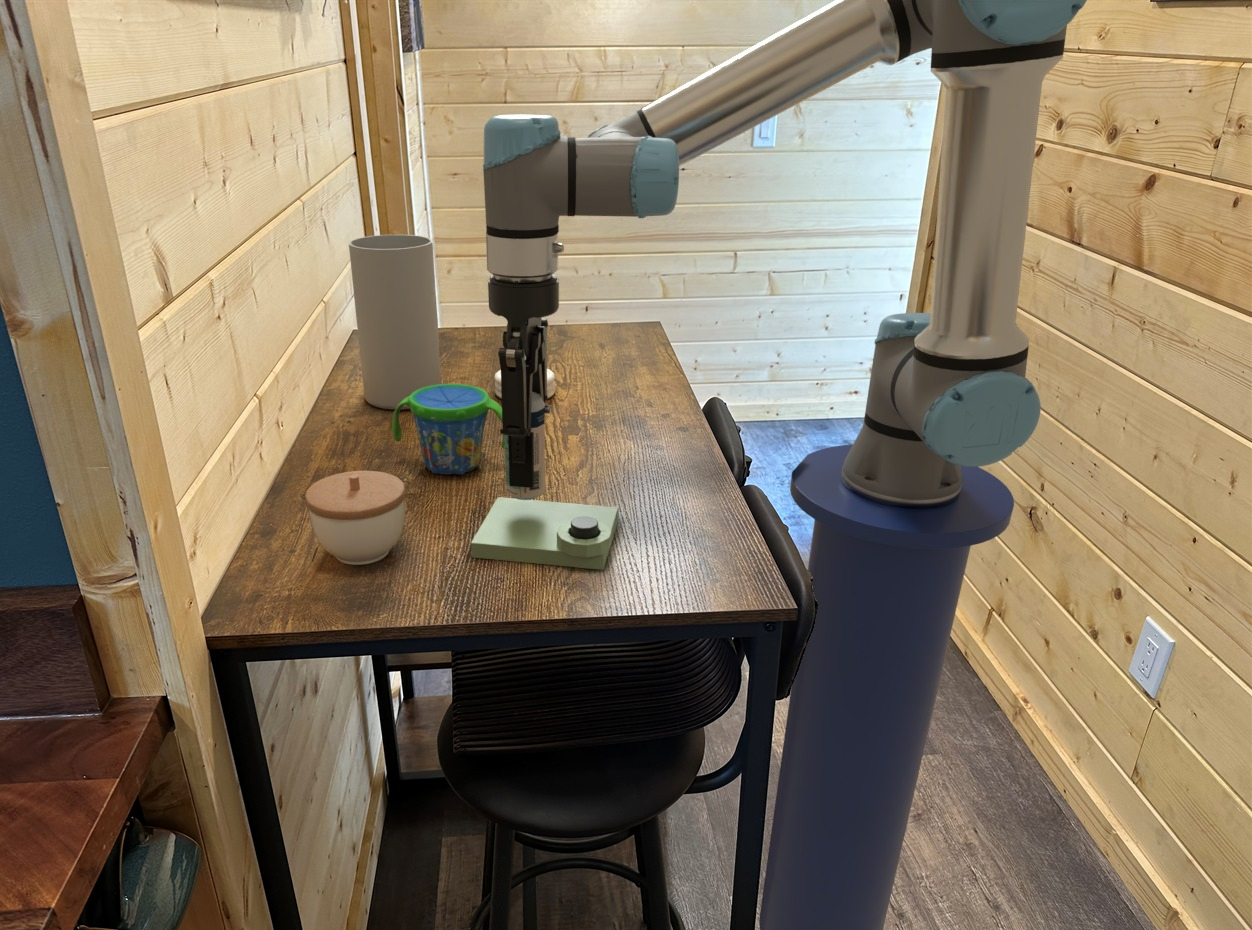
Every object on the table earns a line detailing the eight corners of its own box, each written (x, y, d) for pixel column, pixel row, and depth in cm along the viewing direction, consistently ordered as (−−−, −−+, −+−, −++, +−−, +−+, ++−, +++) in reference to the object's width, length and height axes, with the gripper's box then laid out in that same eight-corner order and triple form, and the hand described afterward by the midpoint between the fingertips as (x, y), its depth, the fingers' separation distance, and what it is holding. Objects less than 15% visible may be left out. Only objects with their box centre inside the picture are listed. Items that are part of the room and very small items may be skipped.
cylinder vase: (445, 385, 155) (436, 234, 144) (438, 411, 144) (427, 249, 133) (371, 386, 155) (356, 234, 144) (358, 411, 144) (341, 249, 132)
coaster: (560, 385, 155) (560, 366, 154) (548, 405, 146) (548, 384, 145) (503, 382, 157) (502, 362, 155) (488, 401, 148) (487, 381, 146)
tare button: (599, 529, 102) (600, 517, 101) (595, 542, 99) (595, 529, 98) (573, 527, 102) (573, 514, 101) (568, 539, 100) (568, 527, 99)
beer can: (550, 487, 109) (549, 391, 104) (539, 504, 105) (538, 405, 100) (511, 483, 110) (509, 388, 105) (500, 499, 106) (496, 402, 101)
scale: (621, 521, 110) (622, 495, 109) (606, 574, 99) (606, 546, 97) (498, 510, 113) (497, 484, 111) (468, 561, 101) (467, 533, 100)
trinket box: (358, 521, 110) (350, 450, 106) (429, 543, 105) (423, 469, 101) (293, 559, 102) (281, 483, 97) (366, 585, 97) (357, 506, 93)
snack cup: (518, 456, 128) (516, 387, 123) (496, 487, 119) (493, 414, 114) (413, 446, 131) (408, 378, 126) (384, 476, 122) (377, 404, 117)
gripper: (540, 295, 88) (542, 512, 98) (573, 259, 103) (572, 449, 114) (465, 292, 89) (475, 506, 99) (509, 256, 104) (513, 444, 115)
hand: (527, 475), depth 107 cm, fingers closed on beer can, 5 cm apart
